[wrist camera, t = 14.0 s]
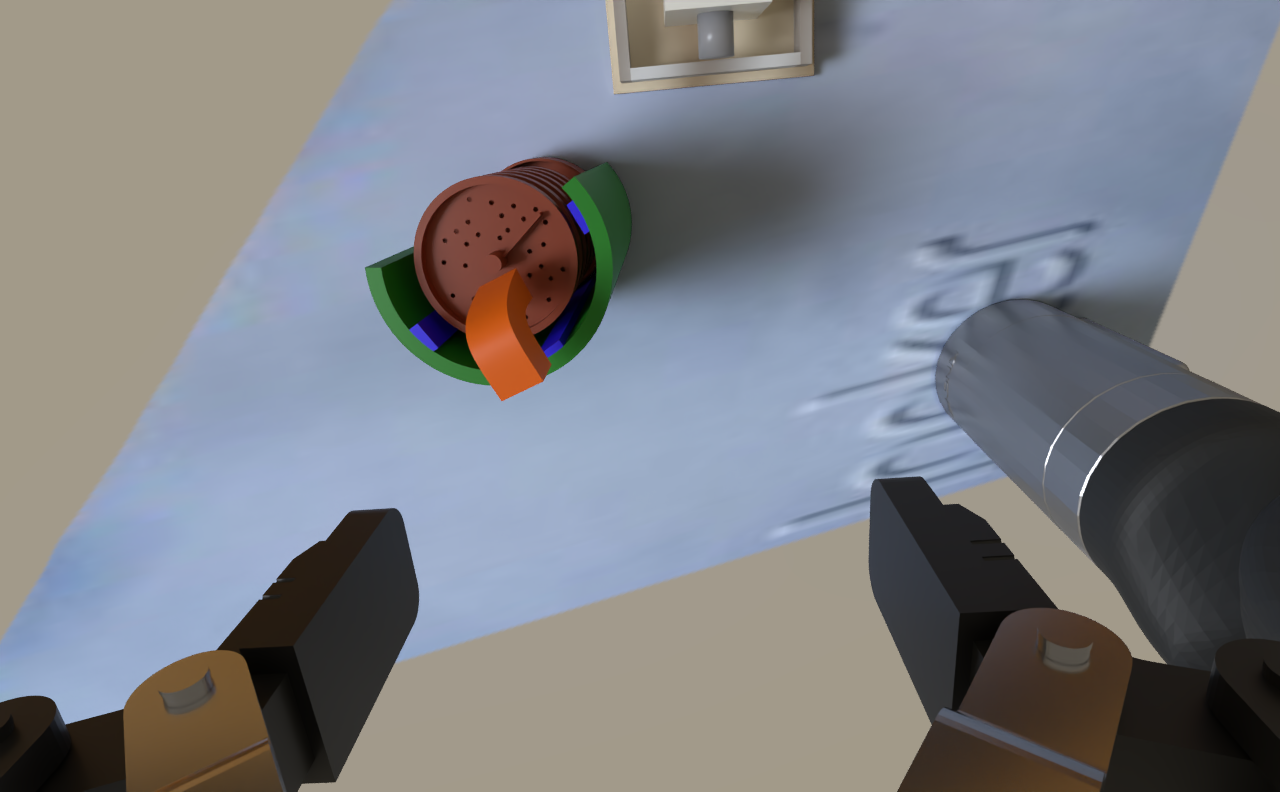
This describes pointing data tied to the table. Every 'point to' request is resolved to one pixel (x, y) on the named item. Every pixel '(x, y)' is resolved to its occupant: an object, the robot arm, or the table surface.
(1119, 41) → the table surface
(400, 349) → the table surface
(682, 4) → the cream cube on peg
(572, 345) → the green cutaway cylinder
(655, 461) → the table surface
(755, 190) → the table surface
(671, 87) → the mount pocket
